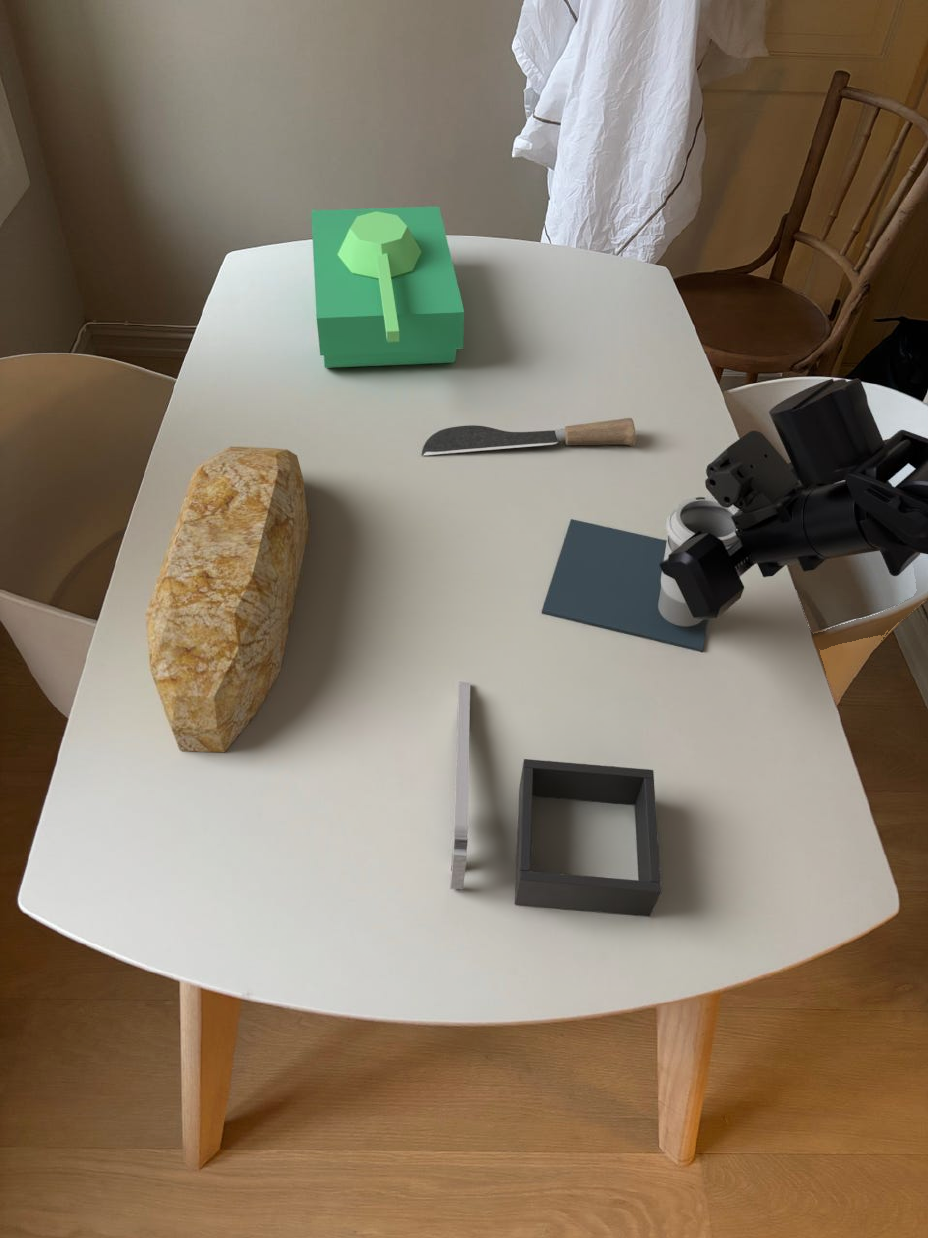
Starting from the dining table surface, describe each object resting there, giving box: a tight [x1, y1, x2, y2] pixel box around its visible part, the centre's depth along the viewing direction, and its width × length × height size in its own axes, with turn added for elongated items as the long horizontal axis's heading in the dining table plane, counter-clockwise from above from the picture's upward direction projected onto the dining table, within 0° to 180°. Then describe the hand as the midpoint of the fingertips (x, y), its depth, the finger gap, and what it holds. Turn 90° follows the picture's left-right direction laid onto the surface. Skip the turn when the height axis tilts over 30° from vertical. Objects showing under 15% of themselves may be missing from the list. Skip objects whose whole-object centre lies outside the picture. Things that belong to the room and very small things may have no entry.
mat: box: [541, 518, 709, 653], centre depth 96 cm, size 16×14×1 cm
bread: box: [145, 446, 310, 753], centre depth 89 cm, size 36×11×10 cm, turn 178°
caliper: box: [449, 681, 471, 890], centre depth 78 cm, size 20×1×6 cm, turn 178°
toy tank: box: [310, 206, 465, 369], centre depth 120 cm, size 18×12×35 cm
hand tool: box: [421, 417, 636, 456], centre depth 110 cm, size 6×3×25 cm
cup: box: [658, 496, 740, 626], centre depth 87 cm, size 7×7×12 cm
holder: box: [514, 758, 662, 917], centre depth 75 cm, size 11×11×4 cm
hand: (685, 549), depth 87 cm, fingers closed on cup, 7 cm apart
